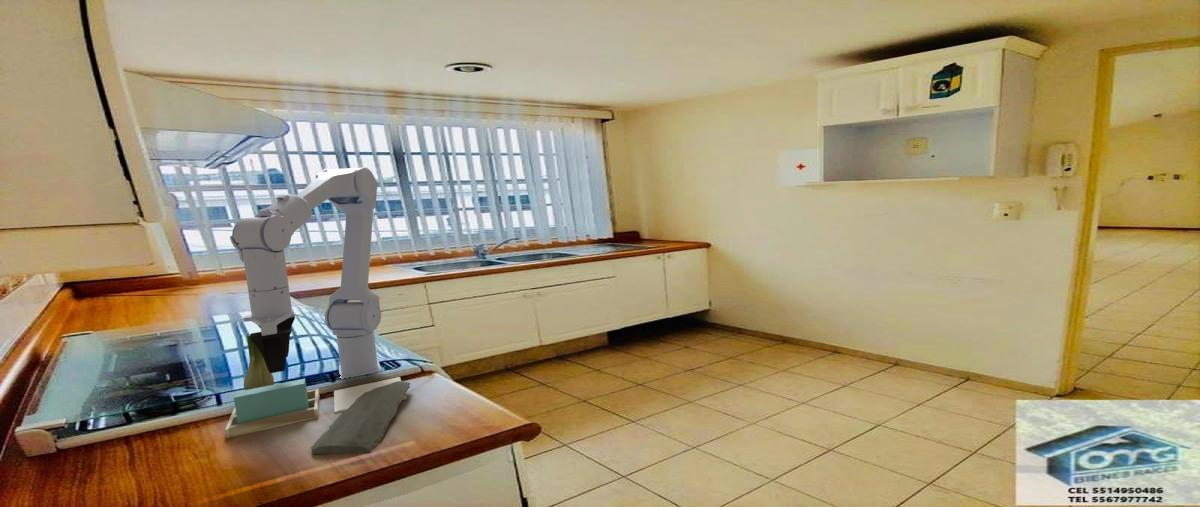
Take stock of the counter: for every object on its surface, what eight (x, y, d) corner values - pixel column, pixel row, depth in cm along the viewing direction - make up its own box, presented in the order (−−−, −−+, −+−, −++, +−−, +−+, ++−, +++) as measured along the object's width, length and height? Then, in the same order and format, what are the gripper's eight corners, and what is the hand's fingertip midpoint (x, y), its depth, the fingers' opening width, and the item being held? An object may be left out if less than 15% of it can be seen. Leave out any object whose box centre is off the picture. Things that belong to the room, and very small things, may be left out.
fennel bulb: (270, 396, 95) (261, 338, 93) (240, 401, 93) (231, 341, 91) (278, 385, 100) (270, 329, 98) (250, 389, 98) (242, 332, 96)
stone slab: (308, 465, 72) (376, 453, 73) (303, 449, 72) (371, 436, 73) (365, 395, 94) (417, 386, 95) (362, 382, 94) (413, 373, 94)
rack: (237, 415, 87) (235, 405, 87) (319, 397, 93) (318, 388, 93) (226, 441, 78) (224, 429, 78) (318, 419, 85) (317, 408, 84)
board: (241, 425, 83) (236, 392, 82) (309, 409, 87) (305, 378, 86) (239, 431, 80) (233, 397, 79) (308, 415, 85) (304, 383, 84)
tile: (334, 394, 94) (334, 390, 94) (400, 380, 100) (399, 376, 100) (334, 415, 86) (334, 411, 86) (406, 399, 91) (406, 395, 91)
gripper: (246, 283, 86) (256, 356, 88) (232, 299, 74) (245, 384, 76) (292, 278, 90) (301, 348, 92) (286, 293, 77) (297, 374, 79)
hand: (279, 364), depth 84 cm, fingers open, 7 cm apart
